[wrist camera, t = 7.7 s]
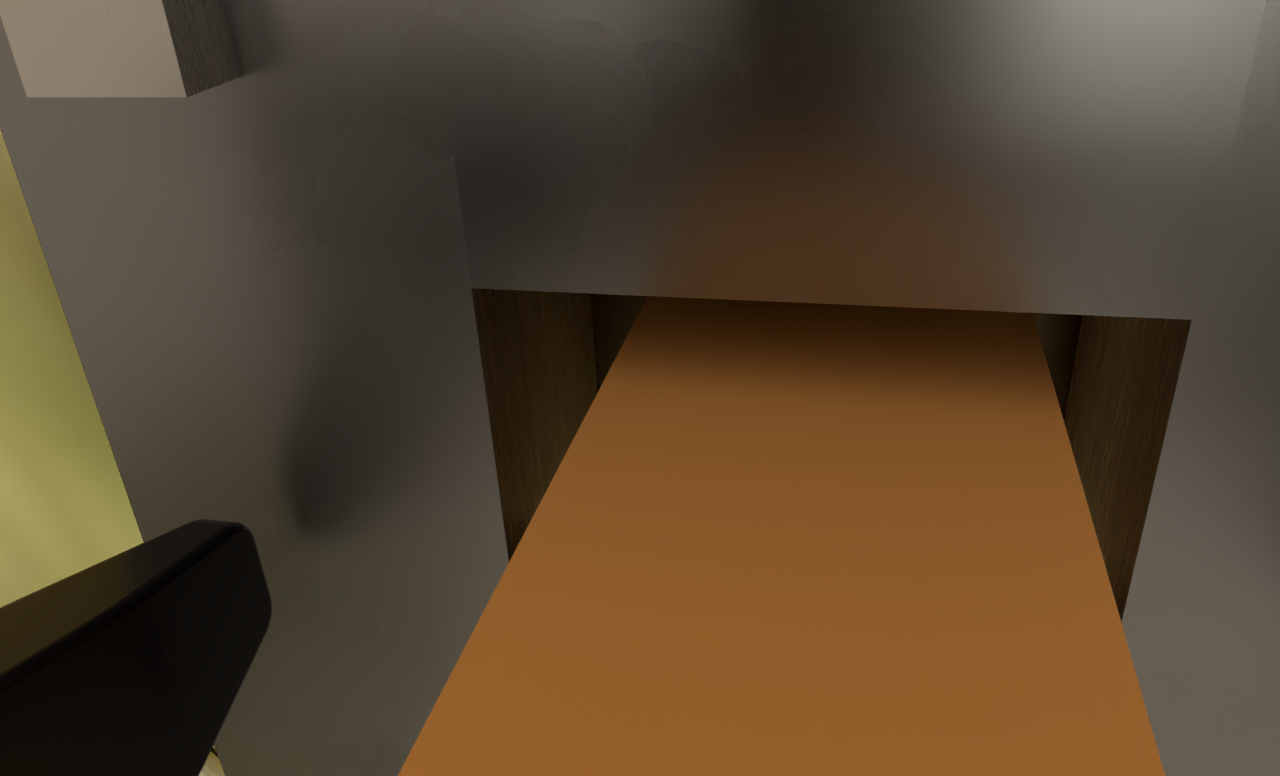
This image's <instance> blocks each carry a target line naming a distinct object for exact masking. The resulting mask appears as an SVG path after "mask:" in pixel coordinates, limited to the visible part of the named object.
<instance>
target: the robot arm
mask: <svg viewBox="0 0 1280 776" xmlns="http://www.w3.org/2000/svg"><path fill="white" fill-rule="evenodd" d="M271 614H272V600H271V595H270V591H269V588H268V584H267V581H266V577H265V574H264V570H263V567H262V563H261V560H260V556H259V553H258V549H257V545H256V542H255V539H254V536H253V534H252V532H251V531H250V530H249V529H248V527H247V526H245V525H243V524H241V523H238V522H231V521H221V520H212V519H199V520H194V521H191V522H189V523H187V524H184V525H182V526H180V527H178V528H175V529H173V530H171V531H169V532H167V533H164V534H162V535H160V536H158V537H156V538H153V539H151V540H149V541H147V542H145V543H142V544H140V545H138V546H136V547H133V548H131V549H129V550H127V551H125V552H122V553H120V554H118V555H116V556H114V557H111V558H109V559H107V560H105V561H102V562H100V563H98V564H96V565H94V566H91V567H89V568H87V569H85V570H83V571H80V572H78V573H76V574H74V575H71V576H69V577H67V578H65V579H63V580H60V581H58V582H56V583H54V584H52V585H49V586H47V587H45V588H43V589H40V590H38V591H36V592H34V593H32V594H29V595H27V596H25V597H23V598H21V599H18V600H16V601H14V602H12V603H9V604H7V605H5V606H3V607H1V608H0V776H199V774H200V772H201V770H202V768H203V766H204V764H205V762H206V760H207V758H208V756H209V754H210V752H211V749H212V747H213V745H214V743H215V741H216V739H217V737H218V735H219V732H220V730H221V728H222V726H223V724H224V722H225V720H226V718H227V715H228V713H229V711H230V709H231V707H232V705H233V703H234V701H235V698H236V696H237V694H238V692H239V690H240V688H241V686H242V684H243V681H244V679H245V677H246V675H247V673H248V671H249V669H250V667H251V664H252V662H253V660H254V658H255V656H256V654H257V652H258V650H259V647H260V645H261V643H262V641H263V639H264V637H265V635H266V633H267V630H268V627H269V624H270V620H271Z"/></svg>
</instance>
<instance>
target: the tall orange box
mask: <svg viewBox="0 0 1280 776" xmlns="http://www.w3.org/2000/svg"><path fill="white" fill-rule="evenodd" d="M398 776H1165V773H1164V769H1163V766H1162V762H1161V759H1160V755H1159V752H1158V748H1157V745H1156V741H1155V738H1154V734H1153V731H1152V727H1151V724H1150V720H1149V717H1148V713H1147V710H1146V706H1145V703H1144V699H1143V696H1142V692H1141V689H1140V685H1139V682H1138V679H1137V675H1136V672H1135V668H1134V665H1133V661H1132V658H1131V654H1130V651H1129V647H1128V644H1127V640H1126V637H1125V633H1124V630H1123V626H1122V623H1121V619H1120V616H1119V612H1118V609H1117V605H1116V602H1115V598H1114V595H1113V591H1112V588H1111V584H1110V581H1109V577H1108V574H1107V570H1106V567H1105V563H1104V560H1103V556H1102V553H1101V549H1100V546H1099V542H1098V539H1097V535H1096V532H1095V528H1094V525H1093V521H1092V518H1091V514H1090V511H1089V507H1088V504H1087V500H1086V497H1085V493H1084V490H1083V486H1082V483H1081V479H1080V476H1079V472H1078V469H1077V465H1076V462H1075V458H1074V455H1073V451H1072V448H1071V444H1070V441H1069V437H1068V434H1067V430H1066V427H1065V423H1064V420H1063V416H1062V413H1061V409H1060V406H1059V402H1058V399H1057V395H1056V392H1055V388H1054V385H1053V381H1052V378H1051V374H1050V371H1049V367H1048V364H1047V360H1046V357H1045V353H1044V350H1043V346H1042V343H1041V339H1040V336H1039V332H1038V329H1037V325H1036V322H1035V318H1034V315H1033V313H1025V312H1002V311H979V310H956V309H933V308H910V307H888V306H865V305H842V304H819V303H796V302H773V301H750V300H727V299H705V298H682V297H659V296H648V297H647V299H646V301H645V303H644V305H643V307H642V309H641V310H640V312H639V314H638V316H637V318H636V320H635V322H634V324H633V326H632V328H631V330H630V332H629V333H628V335H627V337H626V339H625V341H624V343H623V345H622V347H621V349H620V351H619V353H618V355H617V356H616V358H615V360H614V362H613V364H612V366H611V368H610V370H609V372H608V374H607V376H606V378H605V379H604V381H603V383H602V385H601V387H600V389H599V391H598V393H597V395H596V397H595V399H594V401H593V402H592V404H591V406H590V408H589V410H588V412H587V414H586V416H585V418H584V420H583V422H582V424H581V425H580V427H579V429H578V431H577V433H576V435H575V437H574V439H573V441H572V443H571V445H570V447H569V448H568V450H567V452H566V454H565V456H564V458H563V460H562V462H561V464H560V466H559V468H558V470H557V471H556V473H555V475H554V477H553V479H552V481H551V483H550V485H549V487H548V489H547V491H546V493H545V494H544V496H543V498H542V500H541V502H540V504H539V506H538V508H537V510H536V512H535V514H534V516H533V517H532V519H531V521H530V523H529V525H528V527H527V529H526V531H525V533H524V535H523V537H522V539H521V540H520V542H519V544H518V546H517V548H516V550H515V552H514V554H513V556H512V558H511V560H510V562H509V563H508V565H507V567H506V569H505V571H504V573H503V575H502V577H501V579H500V581H499V583H498V585H497V586H496V588H495V590H494V592H493V594H492V596H491V598H490V600H489V602H488V604H487V606H486V608H485V609H484V611H483V613H482V615H481V617H480V619H479V621H478V623H477V625H476V627H475V629H474V631H473V632H472V634H471V636H470V638H469V640H468V642H467V644H466V646H465V648H464V650H463V652H462V654H461V655H460V657H459V659H458V661H457V663H456V665H455V667H454V669H453V671H452V673H451V675H450V677H449V678H448V680H447V682H446V684H445V686H444V688H443V690H442V692H441V694H440V696H439V698H438V700H437V701H436V703H435V705H434V707H433V709H432V711H431V713H430V715H429V717H428V719H427V721H426V723H425V724H424V726H423V728H422V730H421V732H420V734H419V736H418V738H417V740H416V742H415V744H414V746H413V747H412V749H411V751H410V753H409V755H408V757H407V759H406V761H405V763H404V765H403V767H402V769H401V770H400V772H399V774H398Z"/></svg>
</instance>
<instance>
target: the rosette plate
mask: <svg viewBox="0 0 1280 776" xmlns="http://www.w3.org/2000/svg"><path fill="white" fill-rule="evenodd" d="M0 129H1V132H2V135H3V138H4V141H5V143H6V146H7V149H8V152H9V155H10V158H11V161H12V164H13V167H14V169H15V172H16V175H17V178H18V181H19V184H20V187H21V190H22V192H23V195H24V198H25V201H26V204H27V207H28V210H29V213H30V216H31V218H32V221H33V224H34V227H35V230H36V233H37V236H38V239H39V241H40V244H41V247H42V250H43V253H44V256H45V259H46V262H47V264H48V267H49V270H50V273H51V276H52V279H53V282H54V285H55V288H56V290H57V293H58V296H59V299H60V302H61V305H62V308H63V311H64V313H65V316H66V319H67V322H68V325H69V328H70V331H71V334H72V337H73V339H74V342H75V345H76V348H77V351H78V354H79V357H80V360H81V362H82V365H83V368H84V371H85V374H86V377H87V380H88V383H89V386H90V388H91V391H92V394H93V397H94V400H95V403H96V406H97V409H98V411H99V414H100V417H101V420H102V423H103V426H104V429H105V432H106V434H107V437H108V440H109V443H110V446H111V449H112V452H113V455H114V458H115V460H116V463H117V466H118V469H119V472H120V475H121V478H122V481H123V483H124V486H125V489H126V492H127V495H128V498H129V501H130V504H131V507H132V509H133V512H134V515H135V518H136V521H137V524H138V527H139V530H140V532H141V535H142V538H143V541H144V543H145V542H147V541H149V540H151V539H153V538H156V537H158V536H160V535H162V534H164V533H167V532H169V531H171V530H173V529H175V528H178V527H180V526H182V525H184V524H187V523H189V522H191V521H194V520H199V519H212V520H221V521H231V522H238V523H241V524H243V525H245V526H247V527H248V529H249V530H250V531H251V532H252V534H253V536H254V539H255V542H256V545H257V549H258V553H259V556H260V560H261V563H262V567H263V570H264V574H265V577H266V581H267V584H268V588H269V591H270V595H271V600H272V614H271V620H270V624H269V627H268V630H267V633H266V635H265V637H264V639H263V641H262V643H261V645H260V647H259V650H258V652H257V654H256V656H255V658H254V660H253V662H252V664H251V667H250V669H249V671H248V673H247V675H246V677H245V679H244V681H243V684H242V686H241V688H240V690H239V692H238V694H237V696H236V698H235V701H234V703H233V705H232V707H231V709H230V711H229V713H228V715H227V718H226V720H225V722H224V724H223V726H222V728H221V730H220V732H219V735H218V737H217V739H216V741H215V743H214V746H215V749H216V751H217V754H218V757H219V760H220V763H221V766H222V769H223V772H224V774H225V776H398V774H399V772H400V770H401V769H402V767H403V765H404V763H405V761H406V759H407V757H408V755H409V753H410V751H411V749H412V747H413V746H414V744H415V742H416V740H417V738H418V736H419V734H420V732H421V730H422V728H423V726H424V724H425V723H426V721H427V719H428V717H429V715H430V713H431V711H432V709H433V707H434V705H435V703H436V701H437V700H438V698H439V696H440V694H441V692H442V690H443V688H444V686H445V684H446V682H447V680H448V678H449V677H450V675H451V673H452V671H453V669H454V667H455V665H456V663H457V661H458V659H459V657H460V655H461V654H462V652H463V650H464V648H465V646H466V644H467V642H468V640H469V638H470V636H471V634H472V632H473V631H474V629H475V627H476V625H477V623H478V621H479V619H480V617H481V615H482V613H483V611H484V609H485V608H486V606H487V604H488V602H489V600H490V598H491V596H492V594H493V592H494V590H495V588H496V586H497V585H498V583H499V581H500V579H501V577H502V575H503V573H504V571H505V569H506V567H507V565H508V563H509V562H510V560H511V558H512V556H513V554H514V552H515V550H516V548H517V546H518V544H519V542H520V540H521V539H522V537H523V535H524V533H525V531H526V529H527V527H528V525H529V523H530V521H531V519H532V517H533V516H534V514H535V512H536V510H537V508H538V506H539V504H540V502H541V500H542V498H543V496H544V494H545V493H546V491H547V489H548V487H549V485H550V483H551V481H552V479H553V477H554V475H555V473H556V471H557V470H558V468H559V466H560V464H561V462H562V460H563V458H564V456H565V454H566V452H567V450H568V448H569V447H570V445H571V443H572V441H573V439H574V437H575V435H576V433H577V431H578V429H579V427H580V425H581V424H582V422H583V420H584V418H585V416H586V414H587V412H588V410H589V408H590V406H591V404H592V402H593V401H594V399H595V397H596V395H597V393H598V386H597V373H596V360H595V347H594V334H593V320H592V307H591V294H613V295H636V296H659V297H682V298H705V299H727V300H750V301H773V302H796V303H819V304H842V305H865V306H888V307H910V308H933V309H956V310H979V311H1002V312H1025V313H1048V314H1070V315H1083V316H1082V321H1081V327H1080V333H1079V338H1078V344H1077V350H1076V356H1075V361H1074V367H1073V373H1072V378H1071V384H1070V390H1069V395H1068V401H1067V407H1066V413H1065V418H1064V423H1065V427H1066V430H1067V434H1068V437H1069V441H1070V444H1071V448H1072V451H1073V455H1074V458H1075V462H1076V465H1077V469H1078V472H1079V476H1080V479H1081V483H1082V486H1083V490H1084V493H1085V497H1086V500H1087V504H1088V507H1089V511H1090V514H1091V518H1092V521H1093V525H1094V528H1095V532H1096V535H1097V539H1098V542H1099V546H1100V549H1101V553H1102V556H1103V560H1104V563H1105V567H1106V570H1107V574H1108V577H1109V581H1110V584H1111V588H1112V591H1113V595H1114V598H1115V602H1116V605H1117V609H1118V612H1119V616H1120V619H1121V623H1122V626H1123V630H1124V633H1125V637H1126V640H1127V644H1128V647H1129V651H1130V654H1131V658H1132V661H1133V665H1134V668H1135V672H1136V675H1137V679H1138V682H1139V685H1140V689H1141V692H1142V696H1143V699H1144V703H1145V706H1146V710H1147V713H1148V717H1149V720H1150V724H1151V727H1152V731H1153V734H1154V738H1155V741H1156V745H1157V748H1158V752H1159V755H1160V759H1161V762H1162V766H1163V769H1164V773H1165V776H1280V0H0Z"/></svg>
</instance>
